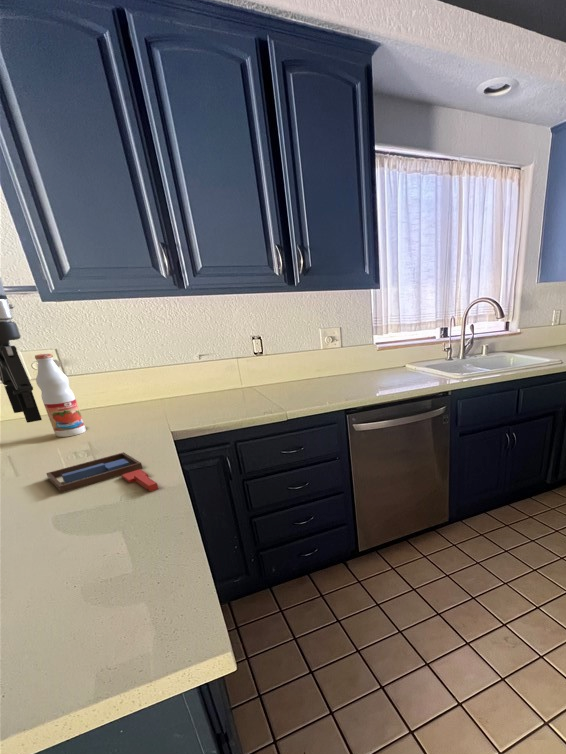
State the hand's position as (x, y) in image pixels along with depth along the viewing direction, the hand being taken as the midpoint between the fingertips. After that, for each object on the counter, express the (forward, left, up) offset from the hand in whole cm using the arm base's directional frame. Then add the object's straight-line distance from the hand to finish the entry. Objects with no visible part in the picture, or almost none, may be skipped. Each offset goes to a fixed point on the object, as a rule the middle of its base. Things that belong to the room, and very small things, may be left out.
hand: (27, 416), depth 102 cm
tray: (+4, +10, -20) cm, 23 cm away
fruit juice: (-34, +48, -20) cm, 62 cm away
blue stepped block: (+4, +10, -20) cm, 23 cm away
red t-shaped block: (+20, +5, -20) cm, 29 cm away
